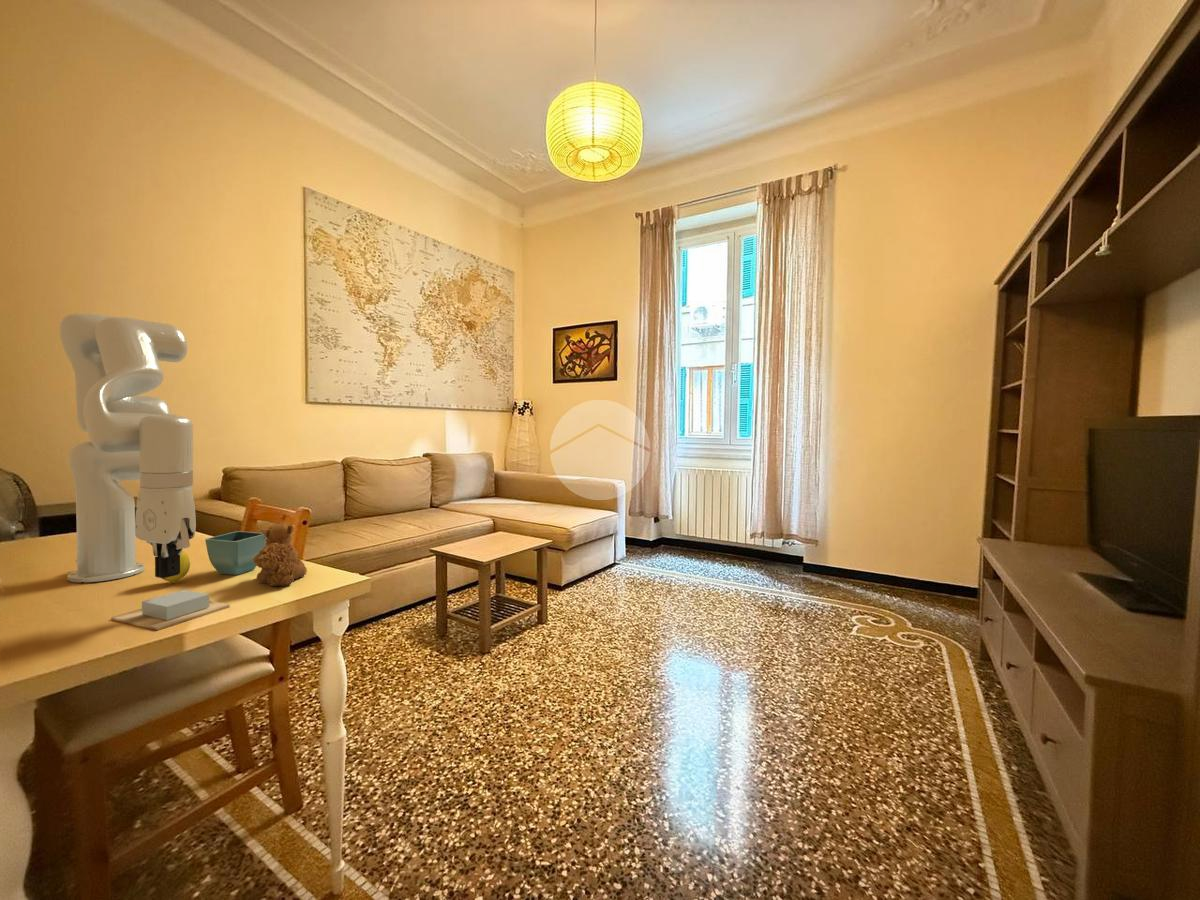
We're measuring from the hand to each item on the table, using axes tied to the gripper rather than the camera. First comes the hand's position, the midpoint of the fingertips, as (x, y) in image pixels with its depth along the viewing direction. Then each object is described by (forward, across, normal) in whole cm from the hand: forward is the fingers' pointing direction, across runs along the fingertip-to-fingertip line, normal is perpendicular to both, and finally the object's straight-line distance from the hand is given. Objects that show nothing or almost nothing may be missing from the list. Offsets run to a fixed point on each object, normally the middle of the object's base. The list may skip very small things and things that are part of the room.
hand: (167, 575), depth 92 cm
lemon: (+8, -17, +11) cm, 22 cm away
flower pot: (+8, -13, +22) cm, 27 cm away
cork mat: (+7, +2, 0) cm, 7 cm away
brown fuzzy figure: (+7, +3, +21) cm, 22 cm away
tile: (+5, -1, 0) cm, 5 cm away
